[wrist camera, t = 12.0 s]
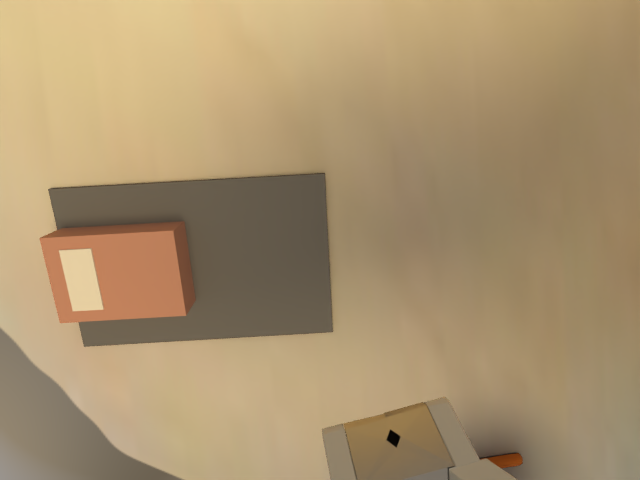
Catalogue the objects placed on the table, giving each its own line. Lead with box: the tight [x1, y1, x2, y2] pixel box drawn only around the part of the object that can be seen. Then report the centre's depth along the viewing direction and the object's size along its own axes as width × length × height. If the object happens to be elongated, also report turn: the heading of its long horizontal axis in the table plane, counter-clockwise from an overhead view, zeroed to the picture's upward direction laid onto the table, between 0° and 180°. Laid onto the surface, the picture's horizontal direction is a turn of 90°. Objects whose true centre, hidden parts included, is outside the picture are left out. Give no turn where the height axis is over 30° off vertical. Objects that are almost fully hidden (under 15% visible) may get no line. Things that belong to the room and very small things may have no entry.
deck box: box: [40, 221, 196, 323], centre depth 35 cm, size 3×7×10 cm
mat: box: [48, 173, 333, 347], centre depth 37 cm, size 22×14×1 cm, turn 93°
